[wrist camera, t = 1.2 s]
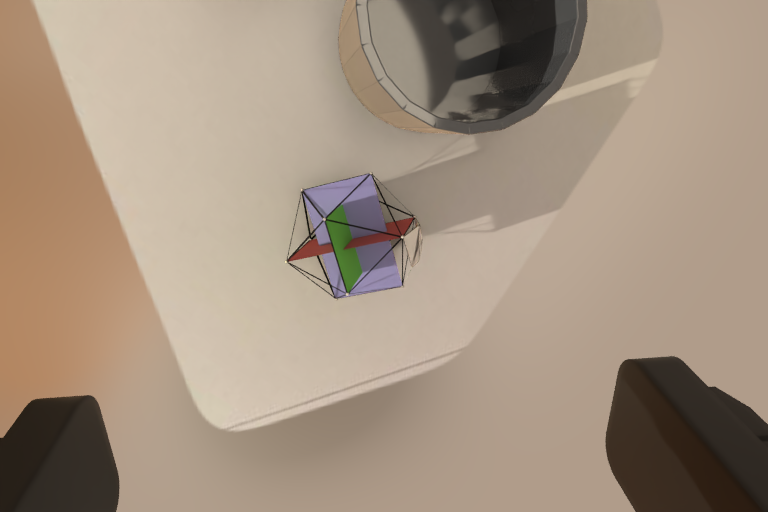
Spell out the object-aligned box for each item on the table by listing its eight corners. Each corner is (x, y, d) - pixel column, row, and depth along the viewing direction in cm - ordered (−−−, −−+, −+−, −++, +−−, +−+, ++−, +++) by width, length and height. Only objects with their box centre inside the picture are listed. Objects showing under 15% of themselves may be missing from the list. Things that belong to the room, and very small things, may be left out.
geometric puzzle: (281, 315, 33) (374, 328, 28) (243, 205, 32) (334, 194, 26) (365, 269, 38) (459, 271, 32) (336, 170, 36) (430, 154, 31)
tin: (307, -3, 32) (313, -58, 22) (465, -79, 32) (538, -166, 23) (383, 159, 34) (418, 172, 25) (528, 87, 35) (617, 72, 25)
